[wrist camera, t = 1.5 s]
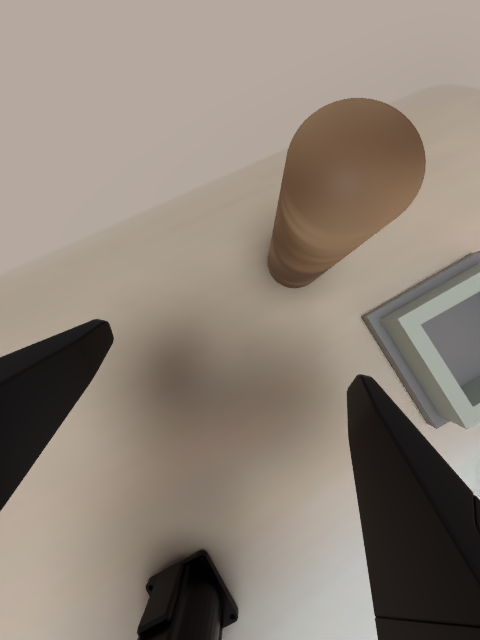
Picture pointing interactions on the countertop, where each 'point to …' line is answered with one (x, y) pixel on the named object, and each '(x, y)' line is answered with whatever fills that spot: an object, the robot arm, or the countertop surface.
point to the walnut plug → (342, 185)
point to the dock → (436, 342)
